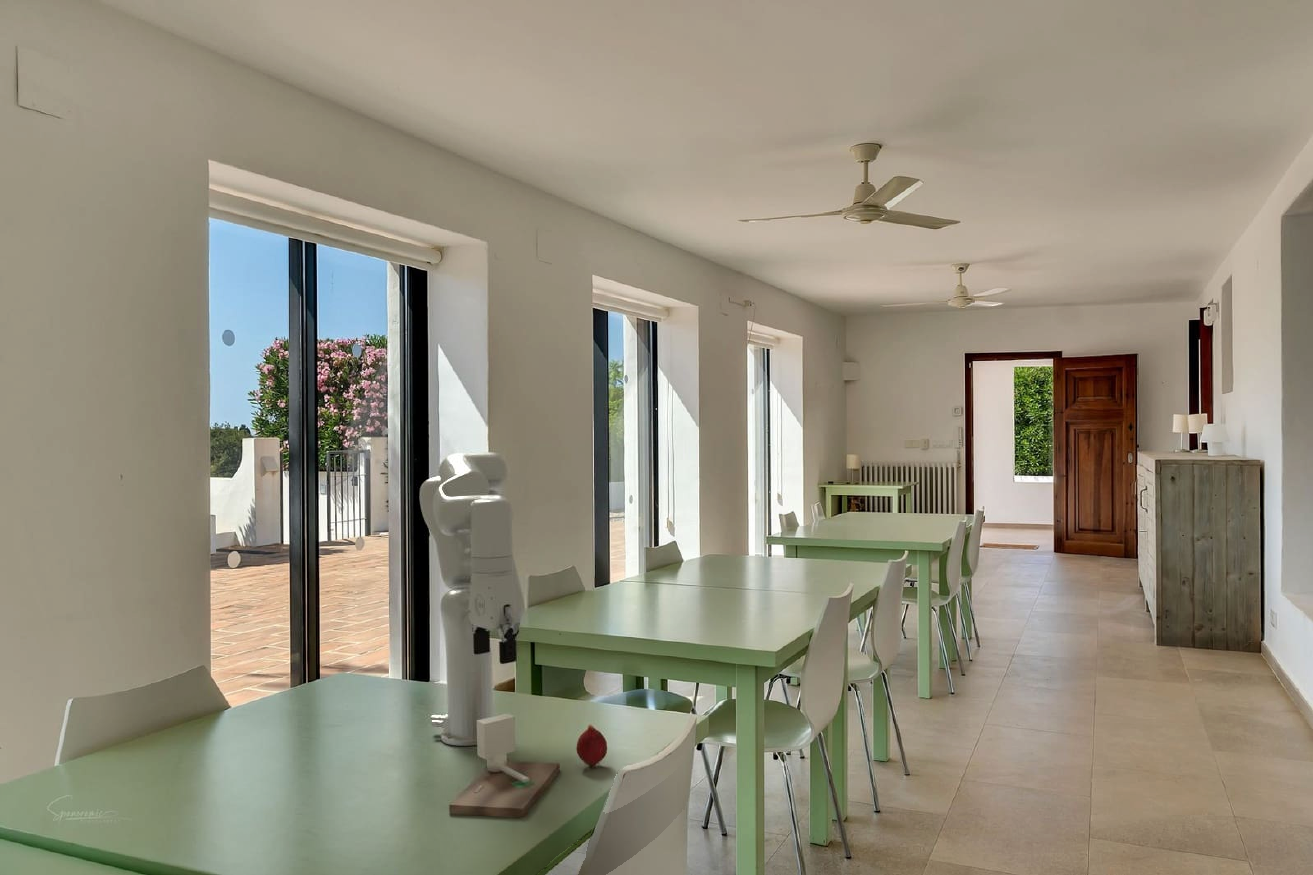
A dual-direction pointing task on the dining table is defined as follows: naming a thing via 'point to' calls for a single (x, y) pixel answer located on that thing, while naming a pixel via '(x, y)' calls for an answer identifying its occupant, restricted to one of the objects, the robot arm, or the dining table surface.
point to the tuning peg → (497, 743)
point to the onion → (591, 746)
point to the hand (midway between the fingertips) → (494, 657)
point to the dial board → (505, 790)
